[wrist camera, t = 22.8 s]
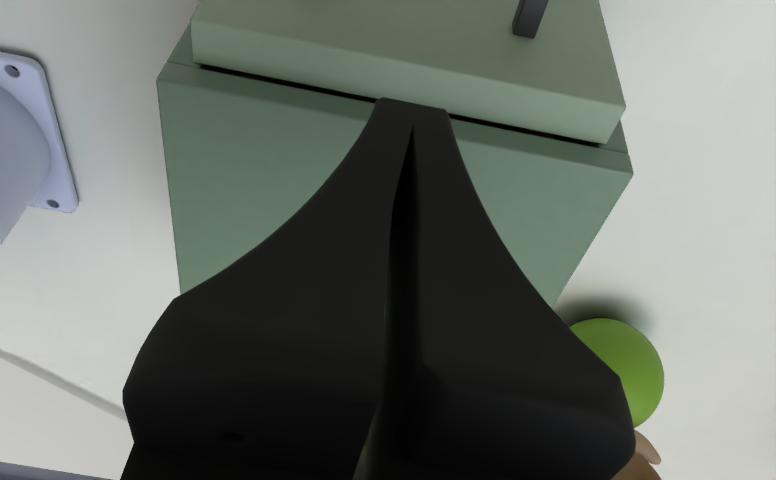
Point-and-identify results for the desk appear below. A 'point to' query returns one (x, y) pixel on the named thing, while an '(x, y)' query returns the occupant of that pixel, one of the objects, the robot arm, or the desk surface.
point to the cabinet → (327, 150)
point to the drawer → (430, 56)
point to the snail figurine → (629, 382)
